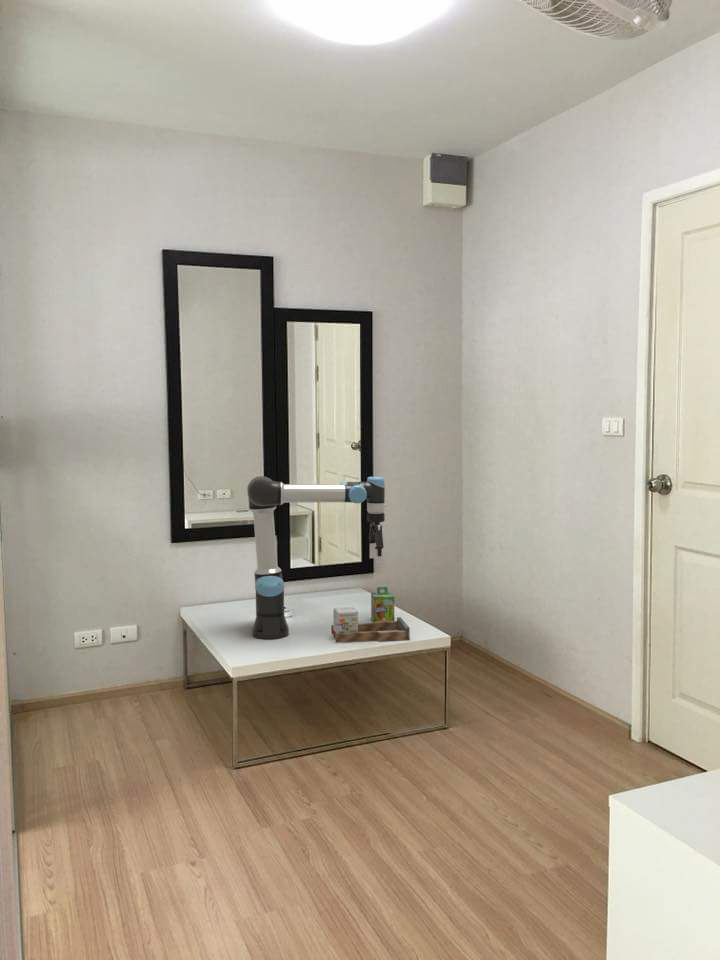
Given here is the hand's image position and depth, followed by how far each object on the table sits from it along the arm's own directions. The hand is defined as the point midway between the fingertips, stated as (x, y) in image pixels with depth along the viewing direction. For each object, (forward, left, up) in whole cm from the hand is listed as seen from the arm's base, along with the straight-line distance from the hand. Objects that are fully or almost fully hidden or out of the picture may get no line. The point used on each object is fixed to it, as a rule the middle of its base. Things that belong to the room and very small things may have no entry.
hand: (375, 560), depth 356 cm
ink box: (-17, -22, -27) cm, 39 cm away
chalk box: (+3, +1, -27) cm, 27 cm away
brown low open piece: (-7, -22, -27) cm, 36 cm away
